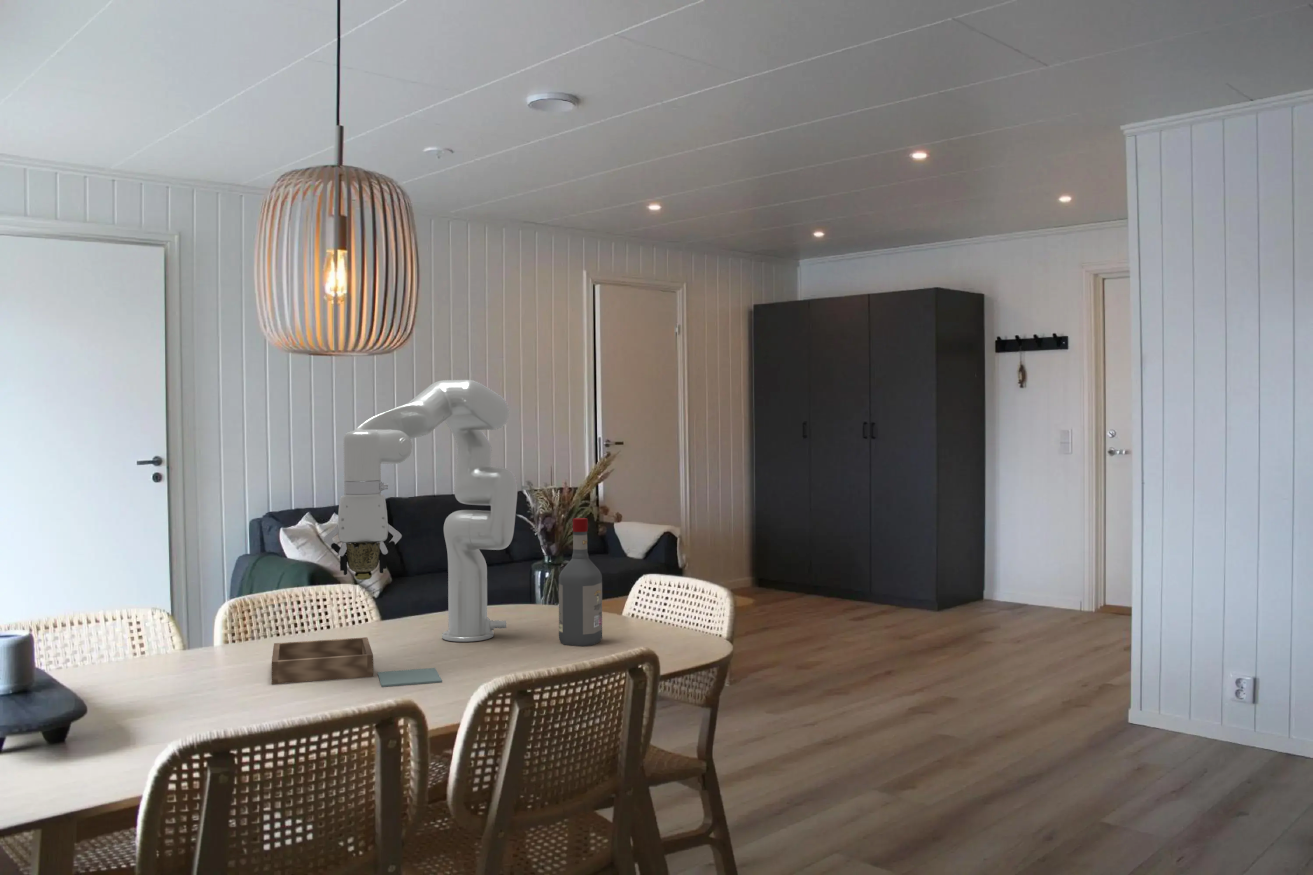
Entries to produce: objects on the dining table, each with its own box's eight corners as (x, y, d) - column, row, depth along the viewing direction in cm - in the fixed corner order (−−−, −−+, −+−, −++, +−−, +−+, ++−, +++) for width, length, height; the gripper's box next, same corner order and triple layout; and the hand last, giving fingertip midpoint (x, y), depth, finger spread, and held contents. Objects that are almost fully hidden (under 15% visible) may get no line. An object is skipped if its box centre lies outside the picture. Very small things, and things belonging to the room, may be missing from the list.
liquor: (605, 639, 259) (604, 517, 259) (590, 647, 250) (589, 520, 250) (571, 637, 262) (570, 516, 262) (555, 644, 253) (554, 519, 253)
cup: (386, 576, 227) (386, 539, 227) (373, 581, 219) (373, 543, 219) (353, 576, 228) (353, 539, 228) (339, 581, 220) (338, 543, 220)
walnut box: (367, 656, 240) (367, 637, 240) (373, 676, 221) (373, 654, 221) (274, 663, 234) (273, 643, 234) (271, 684, 215) (271, 661, 215)
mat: (435, 669, 227) (435, 667, 227) (442, 682, 216) (442, 680, 216) (377, 673, 223) (377, 671, 223) (381, 686, 212) (381, 684, 212)
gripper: (403, 487, 229) (404, 569, 230) (319, 489, 224) (320, 572, 225) (405, 489, 222) (406, 573, 222) (319, 491, 217) (320, 577, 217)
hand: (363, 572), depth 224 cm, fingers closed on cup, 6 cm apart
